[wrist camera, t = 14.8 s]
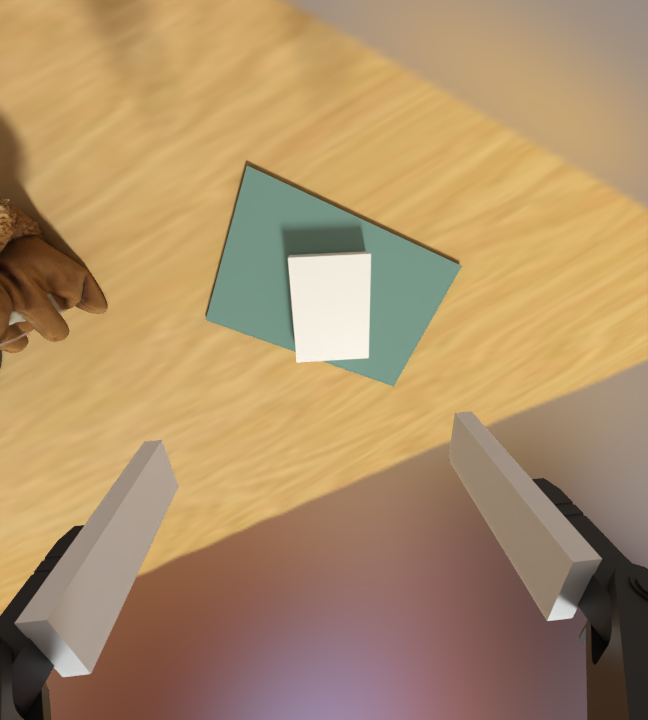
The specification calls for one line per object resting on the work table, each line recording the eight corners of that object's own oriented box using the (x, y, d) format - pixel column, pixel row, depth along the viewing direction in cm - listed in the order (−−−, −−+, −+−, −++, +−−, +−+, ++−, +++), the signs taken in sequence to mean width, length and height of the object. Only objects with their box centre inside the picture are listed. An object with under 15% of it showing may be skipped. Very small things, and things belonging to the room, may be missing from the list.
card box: (296, 362, 34) (287, 257, 29) (297, 351, 36) (289, 254, 32) (368, 358, 34) (371, 253, 29) (364, 348, 36) (365, 251, 32)
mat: (207, 318, 35) (205, 319, 34) (247, 166, 29) (246, 165, 28) (392, 384, 39) (393, 386, 39) (459, 265, 34) (461, 265, 33)
